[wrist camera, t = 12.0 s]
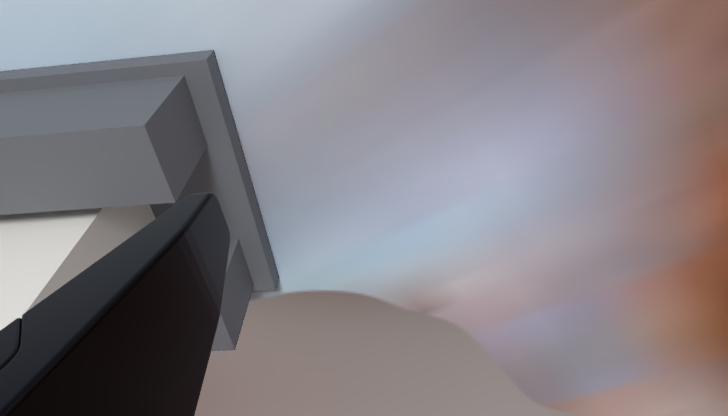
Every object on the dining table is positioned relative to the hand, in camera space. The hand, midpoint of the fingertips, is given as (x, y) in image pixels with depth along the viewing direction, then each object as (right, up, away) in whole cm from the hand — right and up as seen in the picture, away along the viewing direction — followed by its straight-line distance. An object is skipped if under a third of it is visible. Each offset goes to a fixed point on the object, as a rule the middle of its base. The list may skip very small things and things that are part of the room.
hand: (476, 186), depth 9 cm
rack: (-14, 0, +15) cm, 21 cm away
